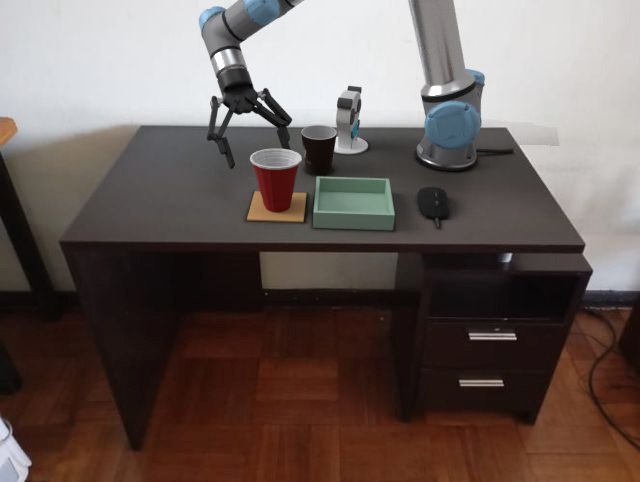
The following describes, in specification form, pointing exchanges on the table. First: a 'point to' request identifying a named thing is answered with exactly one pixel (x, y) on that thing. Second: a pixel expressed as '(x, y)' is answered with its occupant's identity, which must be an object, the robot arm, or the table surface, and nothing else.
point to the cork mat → (290, 215)
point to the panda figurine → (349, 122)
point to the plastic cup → (276, 176)
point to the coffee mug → (318, 148)
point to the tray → (353, 203)
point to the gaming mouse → (433, 203)
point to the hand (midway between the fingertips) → (261, 160)
